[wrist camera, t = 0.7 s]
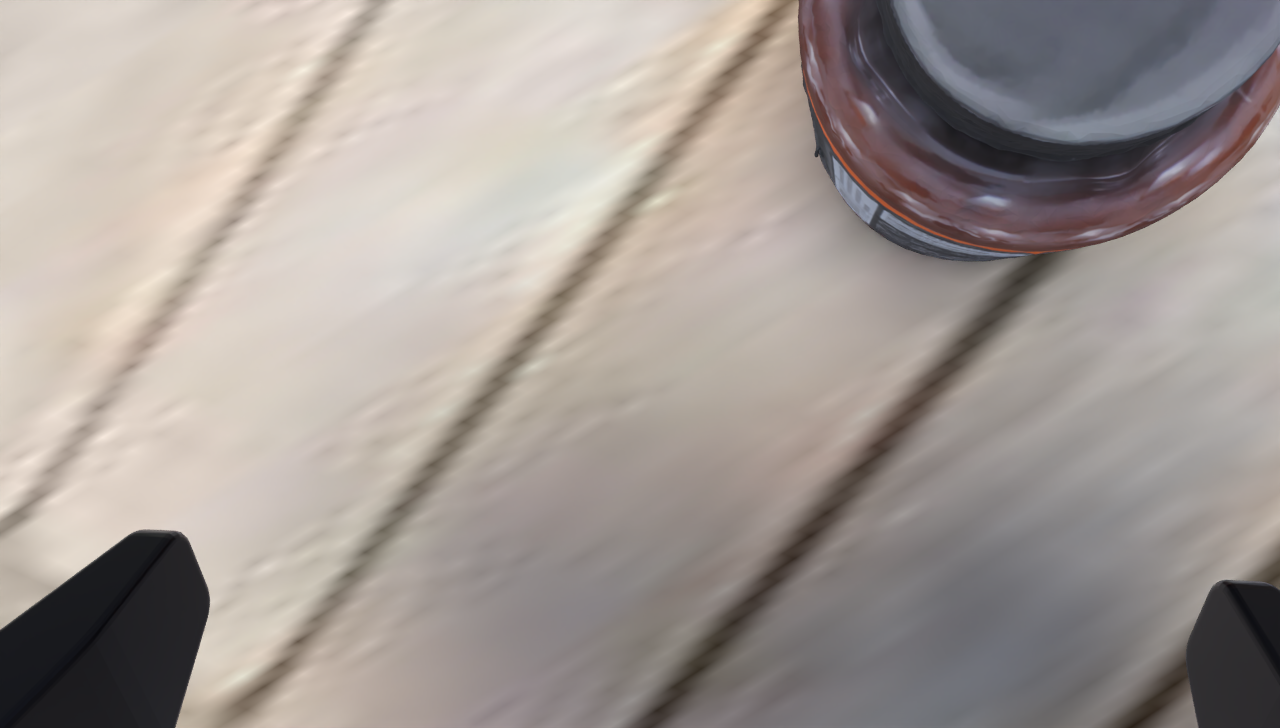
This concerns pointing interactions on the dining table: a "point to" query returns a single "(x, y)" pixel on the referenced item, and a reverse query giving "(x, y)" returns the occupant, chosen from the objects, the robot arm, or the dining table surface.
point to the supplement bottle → (1033, 113)
